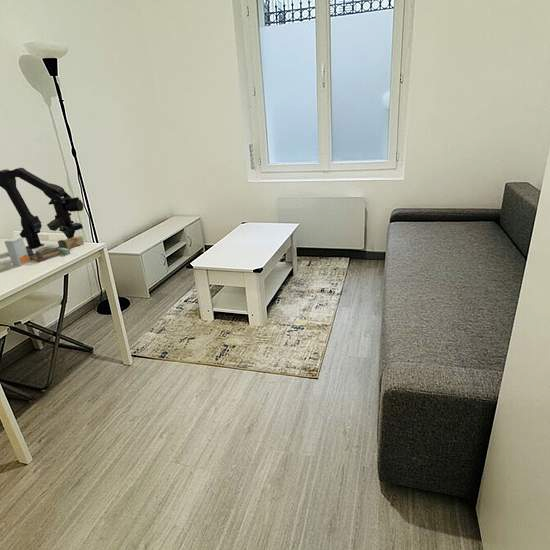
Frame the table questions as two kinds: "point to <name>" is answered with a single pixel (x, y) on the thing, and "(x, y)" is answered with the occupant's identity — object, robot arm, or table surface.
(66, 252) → the socket cleat
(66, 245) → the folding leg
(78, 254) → the table surface
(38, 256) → the stool seat
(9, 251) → the skincare box
